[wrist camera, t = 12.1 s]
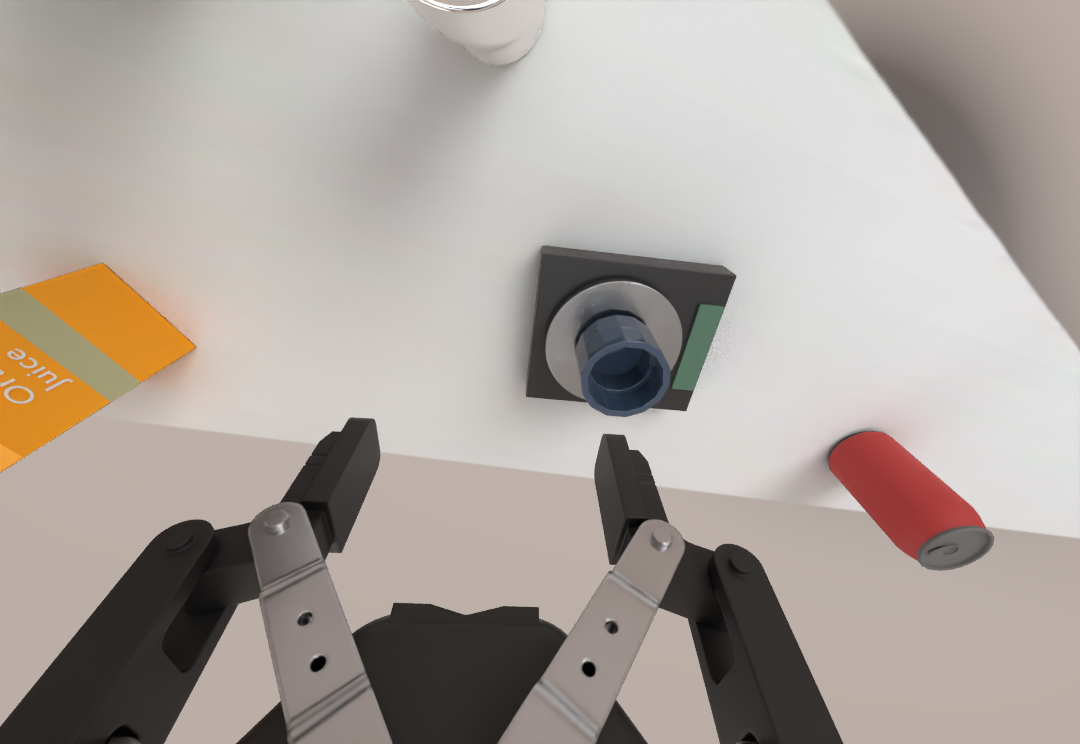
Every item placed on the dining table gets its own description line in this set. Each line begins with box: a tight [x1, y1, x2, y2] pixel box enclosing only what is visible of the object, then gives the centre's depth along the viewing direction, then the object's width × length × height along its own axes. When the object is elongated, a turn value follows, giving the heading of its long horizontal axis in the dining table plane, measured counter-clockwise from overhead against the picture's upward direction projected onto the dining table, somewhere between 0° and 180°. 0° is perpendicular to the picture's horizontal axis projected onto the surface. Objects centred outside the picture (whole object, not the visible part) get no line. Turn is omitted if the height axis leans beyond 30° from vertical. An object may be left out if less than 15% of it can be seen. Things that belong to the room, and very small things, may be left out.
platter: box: [545, 278, 682, 400], centre depth 33 cm, size 11×11×1 cm
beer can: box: [829, 431, 994, 571], centre depth 38 cm, size 7×7×12 cm
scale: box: [526, 246, 736, 411], centre depth 35 cm, size 13×15×3 cm
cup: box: [576, 315, 671, 417], centre depth 30 cm, size 6×6×5 cm
